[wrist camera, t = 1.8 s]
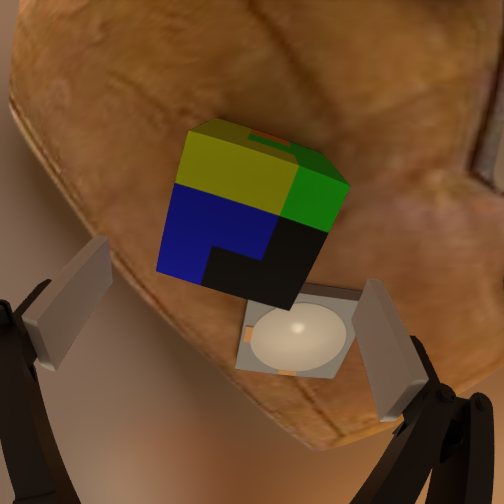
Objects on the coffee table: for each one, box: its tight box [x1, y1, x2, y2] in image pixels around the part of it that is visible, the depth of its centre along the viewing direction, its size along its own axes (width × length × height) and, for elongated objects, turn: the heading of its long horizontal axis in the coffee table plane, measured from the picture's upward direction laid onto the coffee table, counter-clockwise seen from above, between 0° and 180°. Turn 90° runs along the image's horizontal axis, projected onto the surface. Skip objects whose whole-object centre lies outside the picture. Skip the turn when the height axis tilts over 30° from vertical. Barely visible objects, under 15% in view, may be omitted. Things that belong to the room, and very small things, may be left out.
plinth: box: [235, 283, 363, 379], centre depth 35 cm, size 13×13×2 cm
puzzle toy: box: [156, 118, 350, 311], centre depth 24 cm, size 10×10×10 cm
